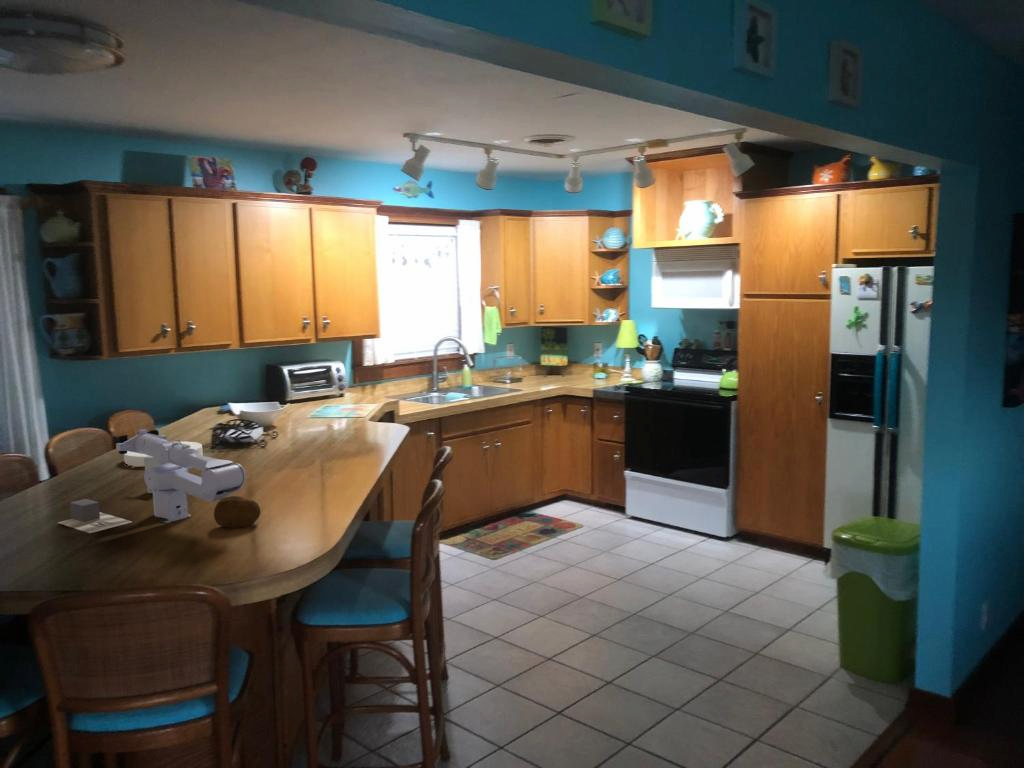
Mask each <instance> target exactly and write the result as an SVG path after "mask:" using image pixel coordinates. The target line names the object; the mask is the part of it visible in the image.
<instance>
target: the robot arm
mask: <svg viewBox="0 0 1024 768" xmlns="http://www.w3.org/2000/svg"><path fill="white" fill-rule="evenodd" d="M167 437H168V436H167V435H164V434H161V435H160V434H159V430H157V429H153V430H152V429H151V430H149V431H147V429H139V431H138V432H137V435H135V436H133V437H131V438H129V439H128V434H122V435H115V436H113V437H112V443H113V445H114V446H115V447H116V451H118V454H120V455H124V454H127V451H130V452H135V453H142V454H146V455H149V456H151V457H154V458H156V459H157V461H158V462H159V463H160V464H162V466H157V467H153V468H152V467H151V468H147V469H146V471H145V470H144V473H143V474H144V476H143V478H144V479H143V480H144V482H145V485H146V487H147V486H148V487H149V488H150V489H151V490H152V491H153V493H152V503H153V512H154V513H153V514H154V517H156V518H162V519H163V518H164V519H163V520H160V521H159V523H165V524H169V523H172V521H173V522H176V521H179V520H183V519H187V518H189V517H191V516H192V515H191V514H189V508H188V497H187V495H190V496H193V497H195V498H198V499H200V500H204V501H206V502H208V503H213V502H217V501H220V500H221V499H222V498H225V497H229V495H231V494H233V493H235V492H238V491H239V490H241V489H242V488H243V486H244V485H245V482H246V478H247V477H246V476H247V474H246V471H245V468H244V467H243V466H242V465H241V463H237V462H236V463H234V461H232V460H227V459H219V458H213V457H211V456H205V455H203V456H202V455H198V452H197V451H196V450H195V449H192V448H189V445H183V444H182V443H181V442H182V441H181V440H179V439H176V440H174V441H170V440H168V439H167ZM166 463H171V464H167V465H164V464H166ZM192 468H195V469H196V470H199V471H201V476H198V475H195V474H192V473H190V472H189V470H190V469H192ZM188 469H189V470H188Z"/></svg>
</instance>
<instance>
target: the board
mask: <svg viewBox="0 0 1024 768" xmlns="http://www.w3.org/2000/svg"><path fill="white" fill-rule="evenodd" d="M99 513H100V519H99V520H95V521H91V522H87V523H81V522H78V521H75V520H72V519H71V518H70V519H65V520H62V521H58V522H57V524H60V525H64V526H65V527H69V528H73V529H75V530H78V531H81V532H84V533H87V534H92V533H96V532H100V531H103V530H107V529H111V528H115V527H118V526H122V525H126V524H127V525H128V524H130V523H133V521H132V520H128V519H125V518H121V517H118V516H115V515H112V514H108V513H104V512H101V511H99Z"/></svg>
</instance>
